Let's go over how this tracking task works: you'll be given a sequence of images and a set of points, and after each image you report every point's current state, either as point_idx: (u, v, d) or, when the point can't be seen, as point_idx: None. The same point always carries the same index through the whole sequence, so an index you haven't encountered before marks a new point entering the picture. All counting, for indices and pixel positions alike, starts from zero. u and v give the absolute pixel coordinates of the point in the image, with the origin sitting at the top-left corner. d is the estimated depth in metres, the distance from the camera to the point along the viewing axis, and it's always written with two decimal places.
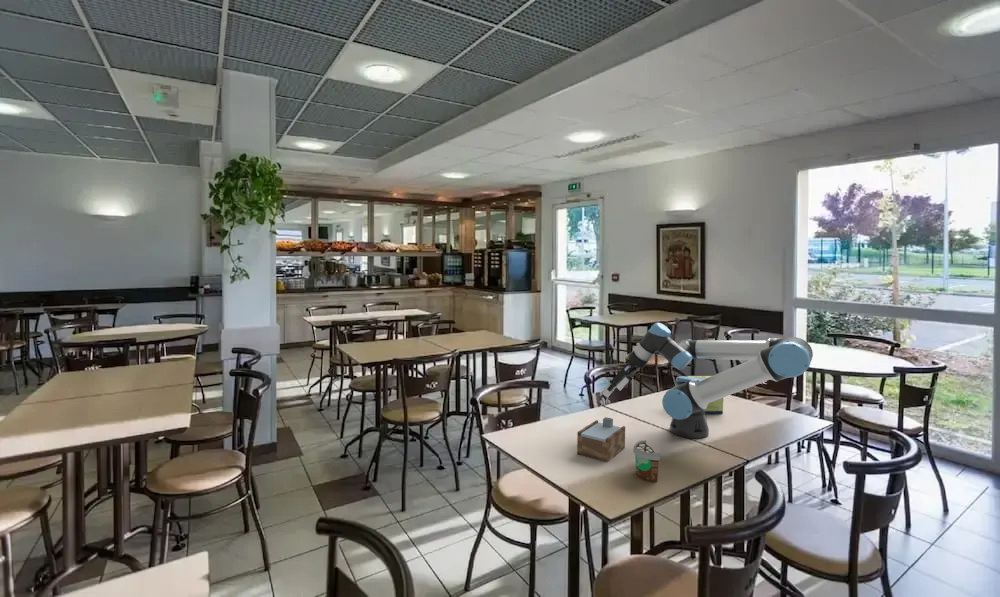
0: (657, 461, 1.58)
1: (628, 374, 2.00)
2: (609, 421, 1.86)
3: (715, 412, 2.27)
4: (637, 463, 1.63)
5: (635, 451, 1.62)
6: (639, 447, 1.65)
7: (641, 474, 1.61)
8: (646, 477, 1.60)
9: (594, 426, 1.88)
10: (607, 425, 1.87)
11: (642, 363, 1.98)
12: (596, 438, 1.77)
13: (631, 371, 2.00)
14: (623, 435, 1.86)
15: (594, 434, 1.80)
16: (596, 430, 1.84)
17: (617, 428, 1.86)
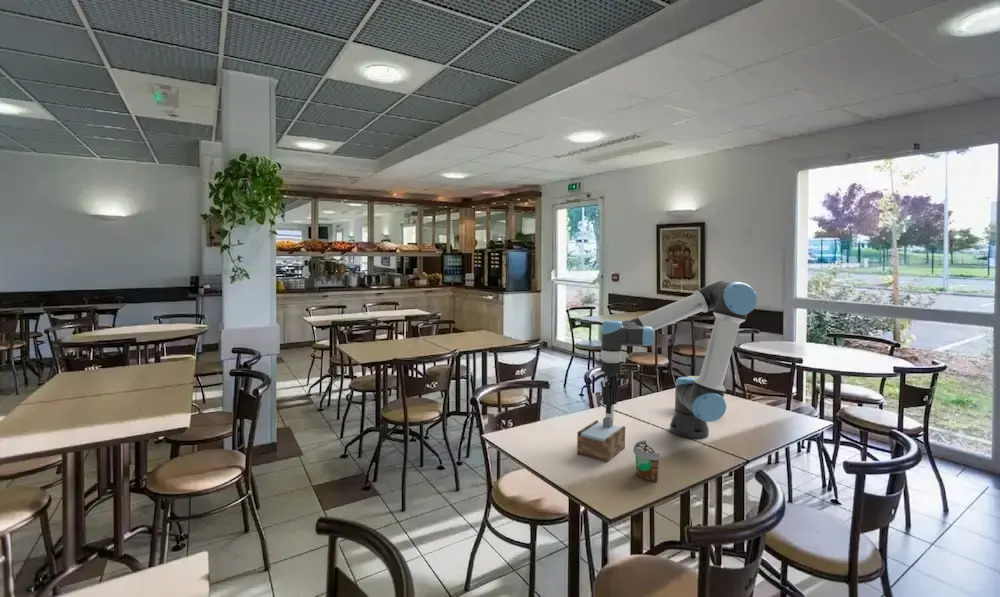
0: (657, 461, 1.58)
1: (612, 386, 1.86)
2: (609, 421, 1.86)
3: None
4: (637, 463, 1.63)
5: (635, 451, 1.62)
6: (639, 447, 1.65)
7: (641, 474, 1.61)
8: (646, 477, 1.60)
9: (594, 426, 1.88)
10: (607, 425, 1.87)
11: (615, 366, 1.84)
12: (596, 438, 1.77)
13: (612, 382, 1.86)
14: (623, 435, 1.86)
15: (594, 434, 1.80)
16: (596, 430, 1.84)
17: (617, 428, 1.86)
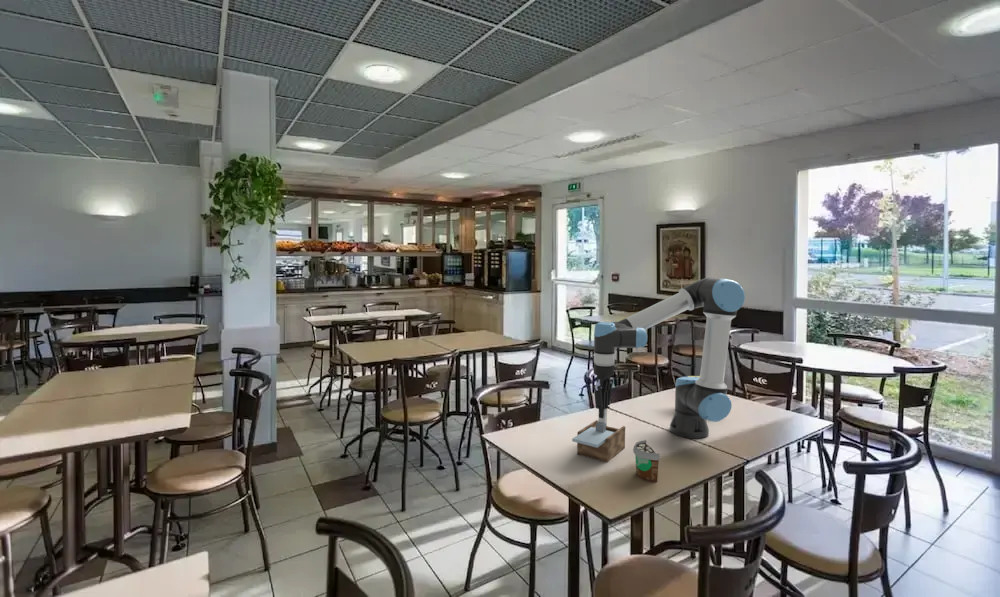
0: (657, 461, 1.58)
1: (605, 390, 1.81)
2: (602, 426, 1.81)
3: None
4: (637, 463, 1.63)
5: (635, 451, 1.62)
6: (639, 447, 1.65)
7: (641, 474, 1.61)
8: (646, 477, 1.60)
9: (586, 431, 1.83)
10: (600, 430, 1.82)
11: (608, 369, 1.79)
12: (588, 443, 1.72)
13: (605, 385, 1.81)
14: (623, 435, 1.86)
15: (586, 439, 1.75)
16: (588, 435, 1.79)
17: (610, 433, 1.81)
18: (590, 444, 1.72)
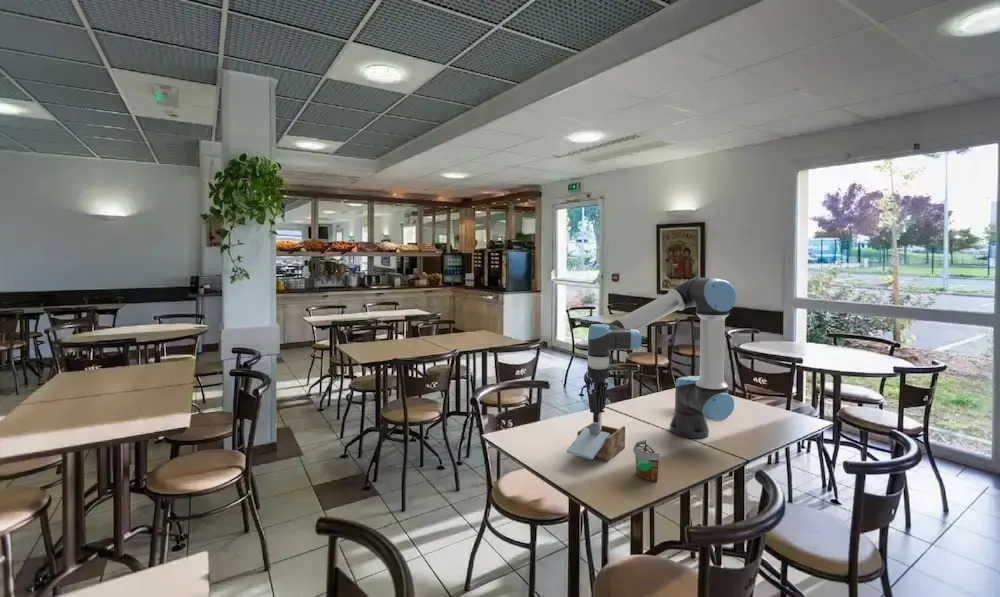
0: (657, 461, 1.58)
1: (599, 394, 1.77)
2: (595, 429, 1.77)
3: None
4: (637, 463, 1.63)
5: (635, 451, 1.62)
6: (639, 447, 1.65)
7: (641, 474, 1.61)
8: (646, 477, 1.60)
9: (581, 435, 1.79)
10: (594, 433, 1.78)
11: (602, 372, 1.75)
12: (582, 455, 1.69)
13: (599, 389, 1.77)
14: (623, 435, 1.86)
15: (580, 449, 1.71)
16: (582, 441, 1.75)
17: (604, 435, 1.77)
18: (585, 456, 1.68)
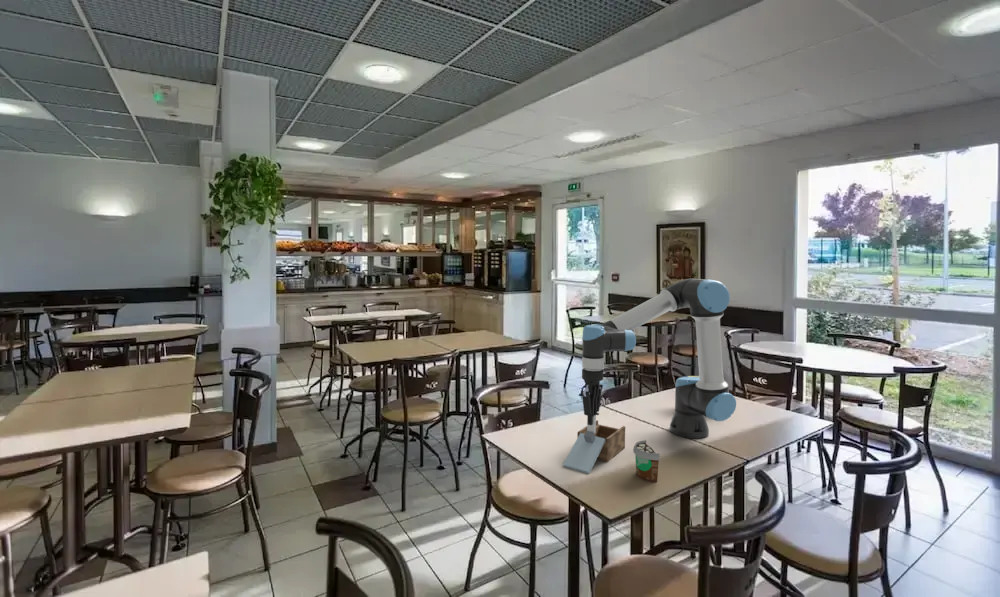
0: (657, 461, 1.58)
1: (593, 396, 1.73)
2: (590, 438, 1.74)
3: None
4: (637, 463, 1.63)
5: (635, 451, 1.62)
6: (639, 447, 1.65)
7: (641, 474, 1.61)
8: (646, 477, 1.60)
9: (576, 443, 1.77)
10: (589, 441, 1.75)
11: (597, 374, 1.71)
12: (579, 470, 1.67)
13: (593, 391, 1.73)
14: (623, 435, 1.86)
15: (577, 462, 1.70)
16: (578, 452, 1.73)
17: (600, 442, 1.74)
18: (581, 470, 1.67)
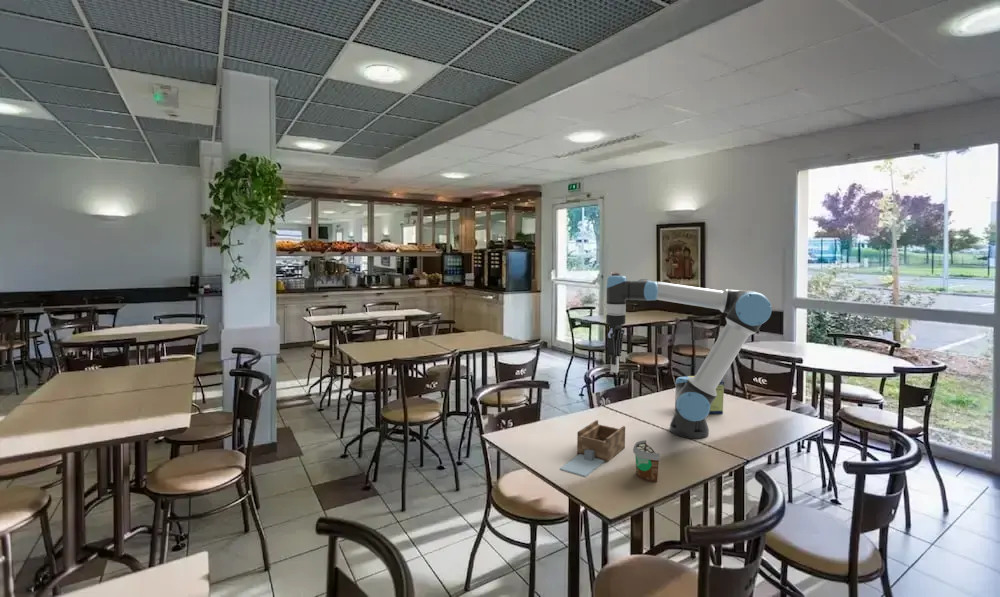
0: (657, 461, 1.58)
1: (617, 338, 1.95)
2: (591, 454, 1.75)
3: (715, 412, 2.27)
4: (637, 463, 1.63)
5: (635, 451, 1.62)
6: (639, 447, 1.65)
7: (641, 474, 1.61)
8: (646, 477, 1.60)
9: (575, 459, 1.76)
10: (588, 458, 1.75)
11: (620, 318, 1.93)
12: None
13: (617, 334, 1.95)
14: (623, 435, 1.86)
15: (574, 469, 1.68)
16: (576, 463, 1.72)
17: (599, 461, 1.74)
18: None
